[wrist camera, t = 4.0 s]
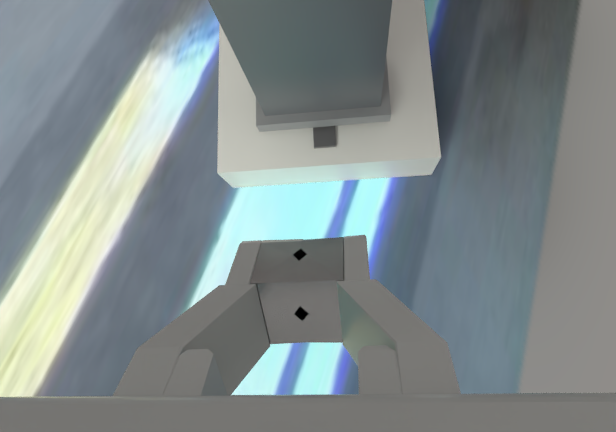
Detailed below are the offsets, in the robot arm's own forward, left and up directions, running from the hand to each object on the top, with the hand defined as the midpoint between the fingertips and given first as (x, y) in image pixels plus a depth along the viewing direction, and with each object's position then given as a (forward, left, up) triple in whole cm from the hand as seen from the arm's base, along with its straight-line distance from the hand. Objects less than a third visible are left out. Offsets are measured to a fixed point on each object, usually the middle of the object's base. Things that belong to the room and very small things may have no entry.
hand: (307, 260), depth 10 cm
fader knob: (0, +10, -11) cm, 15 cm away
